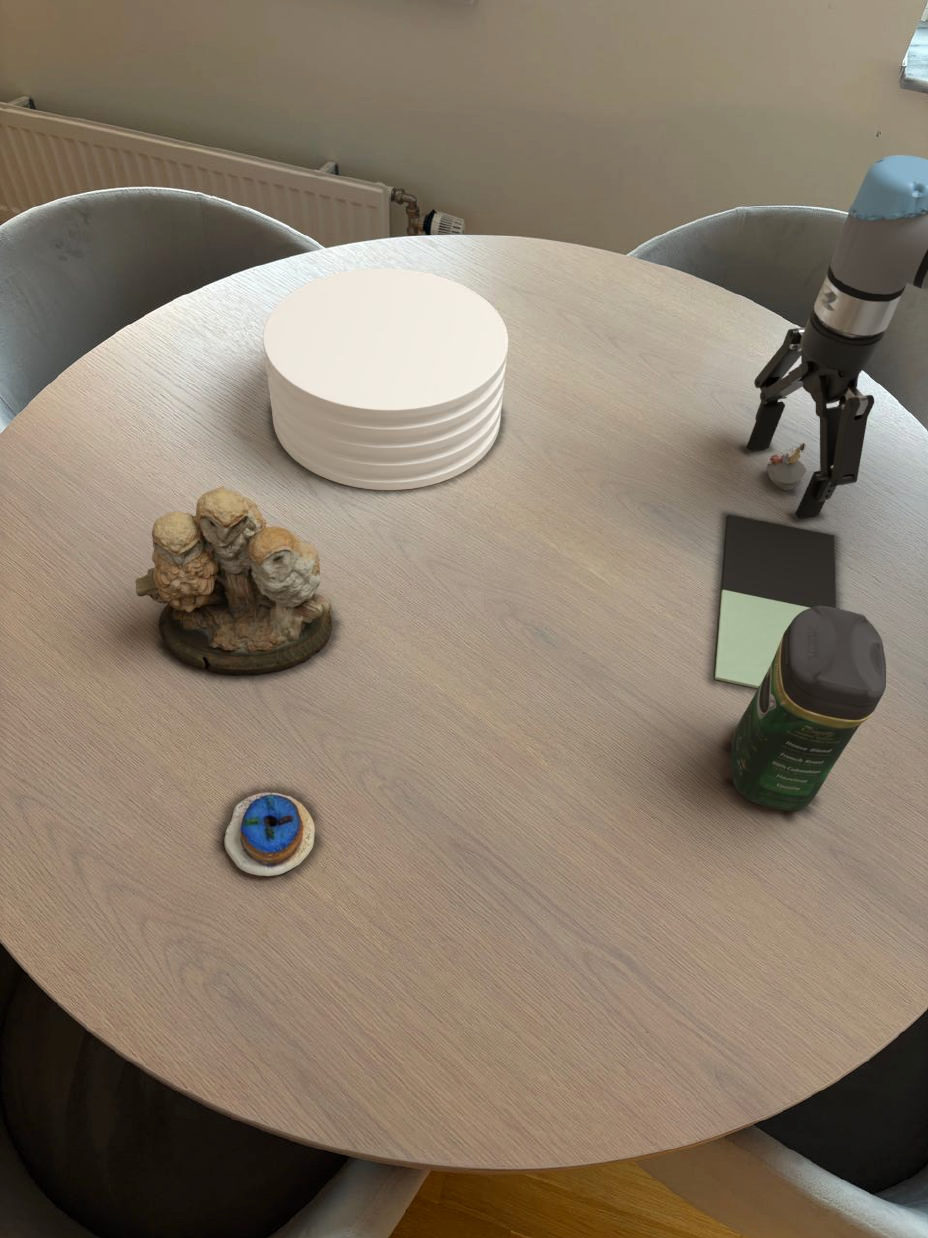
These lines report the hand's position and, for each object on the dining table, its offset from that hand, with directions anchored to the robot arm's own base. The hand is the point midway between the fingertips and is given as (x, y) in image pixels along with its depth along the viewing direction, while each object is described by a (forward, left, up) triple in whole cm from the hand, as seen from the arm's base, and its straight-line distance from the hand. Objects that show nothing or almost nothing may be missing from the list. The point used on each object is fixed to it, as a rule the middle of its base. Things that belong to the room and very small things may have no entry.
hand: (781, 480), depth 113 cm
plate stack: (+23, +43, 0) cm, 48 cm away
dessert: (-30, +66, 0) cm, 73 cm away
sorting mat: (-17, +10, 0) cm, 20 cm away
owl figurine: (-7, +65, 0) cm, 65 cm away
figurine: (0, 0, 0) cm, 0 cm away
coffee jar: (-35, +20, 0) cm, 41 cm away
